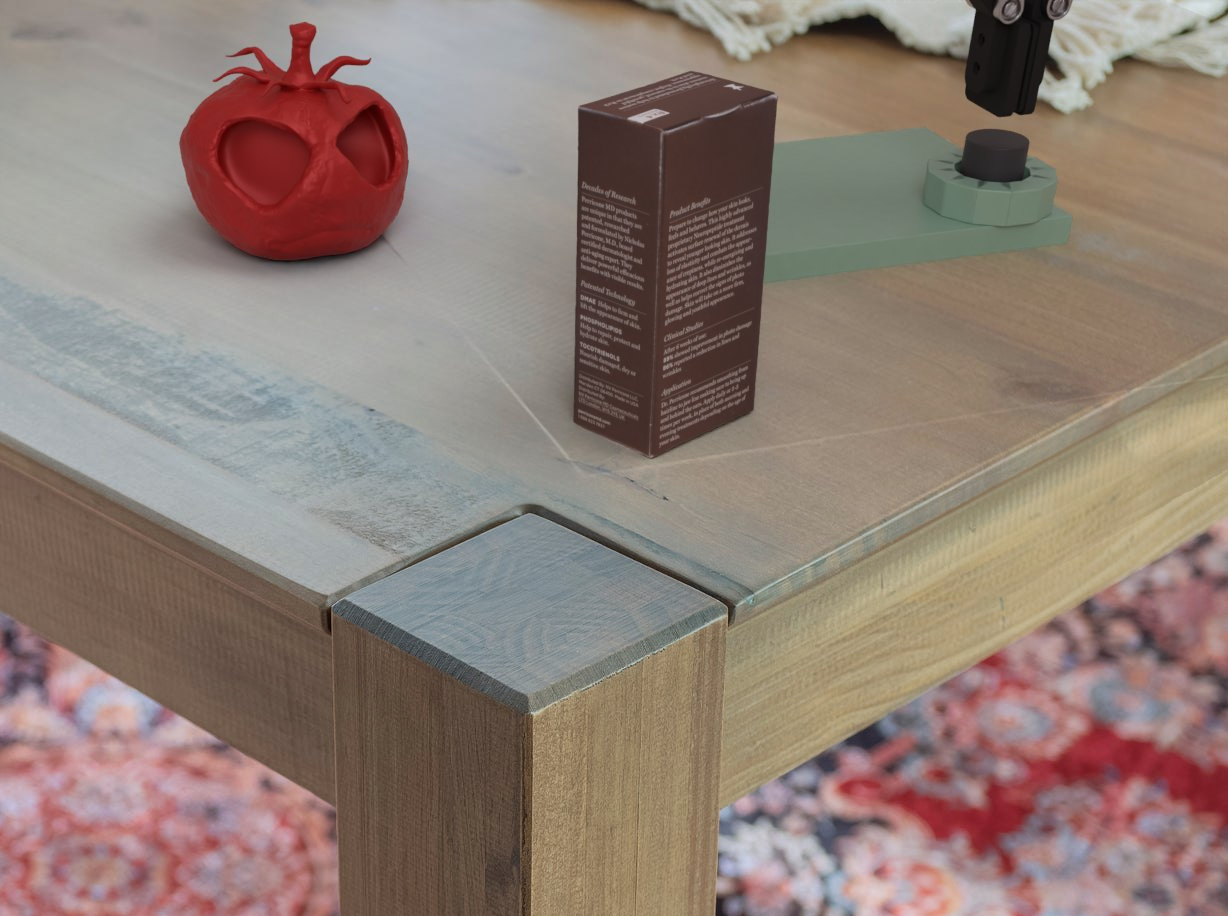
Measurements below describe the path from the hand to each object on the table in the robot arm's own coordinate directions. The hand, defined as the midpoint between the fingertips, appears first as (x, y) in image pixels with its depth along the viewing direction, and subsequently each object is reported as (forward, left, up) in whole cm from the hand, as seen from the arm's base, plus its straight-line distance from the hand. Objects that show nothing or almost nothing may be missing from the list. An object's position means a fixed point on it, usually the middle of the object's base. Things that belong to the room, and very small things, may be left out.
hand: (998, 105), depth 84 cm
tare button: (0, 0, -3) cm, 3 cm away
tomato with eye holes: (+30, -9, -6) cm, 32 cm away
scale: (+5, -4, -6) cm, 9 cm away
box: (+22, +13, -6) cm, 26 cm away
